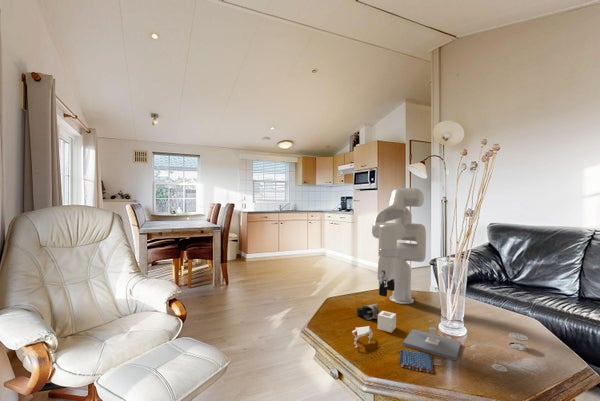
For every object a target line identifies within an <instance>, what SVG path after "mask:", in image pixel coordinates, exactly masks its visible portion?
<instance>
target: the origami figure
mask: <svg viewBox="0 0 600 401" xmlns="http://www.w3.org/2000/svg"><path fill="white" fill-rule="evenodd" d="M370 326H371V325H367V326H359V327H356V326H355V329H354V330H352V331H351V333H352V334H353V337H355V338H353V339H354V342H353V344H354V345H355V348H358V347H359V345H358V344H357V341H358V339H359V338H360V337H365V336H366V335H369V336H368V339H369V340H368V344H370V341H371V339H372V338H373V335H374V333H373V331H372V329H371V327H370ZM356 332H357V335H356V334H355V333H356Z"/></svg>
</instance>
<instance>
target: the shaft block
mask: <svg viewBox="0 0 600 401" xmlns="http://www.w3.org/2000/svg"><path fill="white" fill-rule="evenodd" d="M402 346H404V347H406V348H409V349H410V348H411V349H413V350H416V351H421V352H423V353H426V354H430V355H434V356H438V357H440V358H445V359H448V360H451V361H457V359H458V355H459V353H460V351H461V350H460V349H461V347H462V341H461V340H457V339H453V338H449V337H445V336H442V335H441V336H440V335H437V329H436V327H434V326H429V328H428V332H425V331H422V330H418V329H415V328H414V329H413V328H412V329H411V331H410V332H409V333H408V334H407V336H406V338H405V339H404V341H403V342H402Z"/></svg>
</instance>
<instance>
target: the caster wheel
mask: <svg viewBox="0 0 600 401" xmlns="http://www.w3.org/2000/svg"><path fill="white" fill-rule="evenodd" d="M379 313H380V309H379V307H378V304H377V303H373V304H365V305H362V306H361V307H357V308H356V314H357V315H358V316H363V318H364V319H365V320H374V319H375V320H378V314H379Z"/></svg>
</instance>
